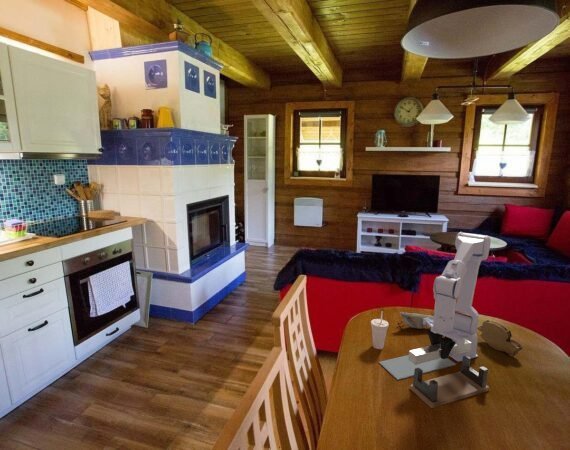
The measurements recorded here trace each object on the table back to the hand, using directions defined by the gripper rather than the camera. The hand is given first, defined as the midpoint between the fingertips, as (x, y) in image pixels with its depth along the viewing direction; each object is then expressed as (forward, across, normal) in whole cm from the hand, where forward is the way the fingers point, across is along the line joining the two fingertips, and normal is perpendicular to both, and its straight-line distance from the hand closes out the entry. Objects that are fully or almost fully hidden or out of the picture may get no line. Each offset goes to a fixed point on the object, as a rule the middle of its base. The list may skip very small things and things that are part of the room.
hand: (440, 354), depth 108 cm
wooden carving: (+9, -7, +35) cm, 37 cm away
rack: (+9, +5, 0) cm, 10 cm away
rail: (0, 0, 0) cm, 0 cm away
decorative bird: (+9, -30, +17) cm, 36 cm away
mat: (+9, -9, 0) cm, 13 cm away
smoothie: (+9, -23, -6) cm, 26 cm away
